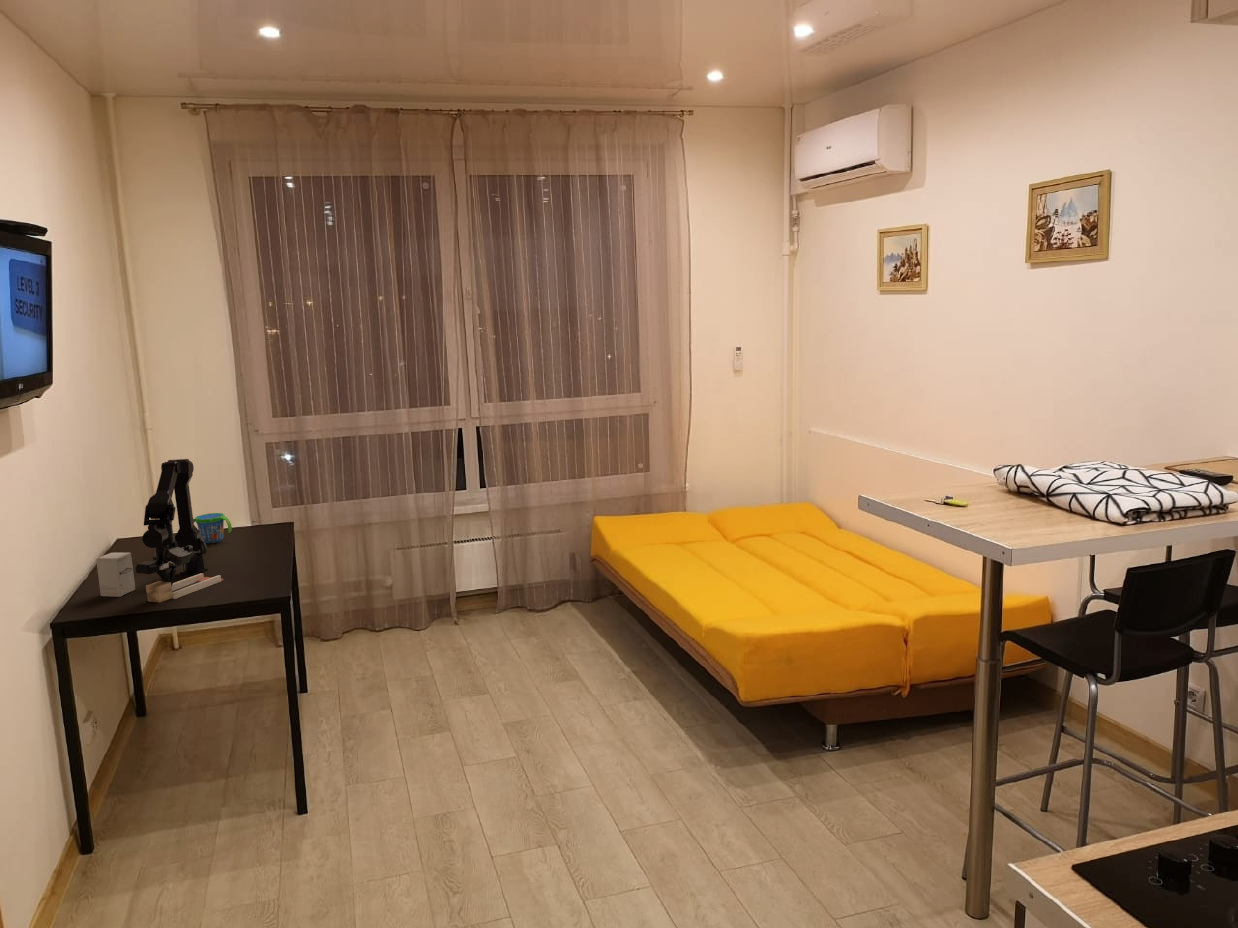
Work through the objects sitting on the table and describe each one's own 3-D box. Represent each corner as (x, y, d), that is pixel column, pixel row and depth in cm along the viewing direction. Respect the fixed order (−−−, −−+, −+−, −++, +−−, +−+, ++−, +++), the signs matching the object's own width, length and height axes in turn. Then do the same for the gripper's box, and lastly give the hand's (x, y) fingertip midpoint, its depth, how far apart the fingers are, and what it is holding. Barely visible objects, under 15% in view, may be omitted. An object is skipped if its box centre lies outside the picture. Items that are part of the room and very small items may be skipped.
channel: (154, 596, 299) (154, 590, 299) (204, 578, 317) (203, 572, 317) (175, 598, 296) (174, 592, 296) (223, 580, 314) (223, 574, 314)
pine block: (147, 601, 295) (145, 585, 294) (160, 596, 299) (159, 580, 298) (159, 602, 293) (157, 587, 292) (172, 597, 297) (170, 582, 296)
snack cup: (185, 544, 362) (182, 518, 361) (202, 537, 373) (199, 512, 371) (222, 545, 360) (219, 519, 358) (238, 538, 370) (235, 512, 368)
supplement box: (120, 597, 300) (115, 558, 297) (100, 596, 301) (95, 558, 299) (136, 589, 307) (131, 552, 305) (116, 589, 308) (111, 551, 306)
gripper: (158, 549, 285) (164, 598, 288) (206, 534, 302) (211, 581, 304) (131, 546, 289) (137, 595, 292) (180, 531, 306) (185, 578, 309)
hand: (169, 587), depth 299 cm, fingers closed
